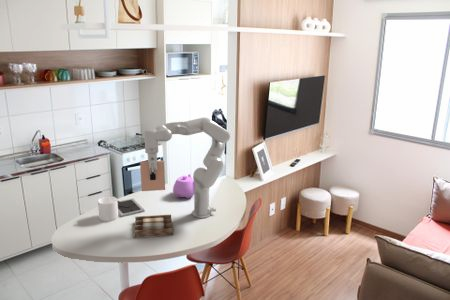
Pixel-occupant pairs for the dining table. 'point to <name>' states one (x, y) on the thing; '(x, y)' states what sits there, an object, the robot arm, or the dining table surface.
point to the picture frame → (129, 207)
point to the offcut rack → (153, 232)
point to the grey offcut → (153, 226)
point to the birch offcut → (153, 220)
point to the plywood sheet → (145, 177)
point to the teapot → (184, 187)
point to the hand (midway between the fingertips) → (152, 178)
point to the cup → (108, 208)
